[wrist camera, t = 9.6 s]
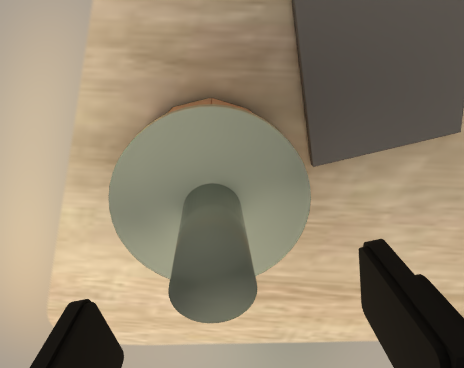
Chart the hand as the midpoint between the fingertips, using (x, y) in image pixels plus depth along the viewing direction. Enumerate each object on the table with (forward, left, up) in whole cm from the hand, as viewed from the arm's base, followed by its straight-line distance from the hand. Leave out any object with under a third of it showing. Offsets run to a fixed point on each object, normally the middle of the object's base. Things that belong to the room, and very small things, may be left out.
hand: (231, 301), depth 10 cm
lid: (+1, 0, -8) cm, 8 cm away
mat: (-12, -4, -13) cm, 18 cm away
